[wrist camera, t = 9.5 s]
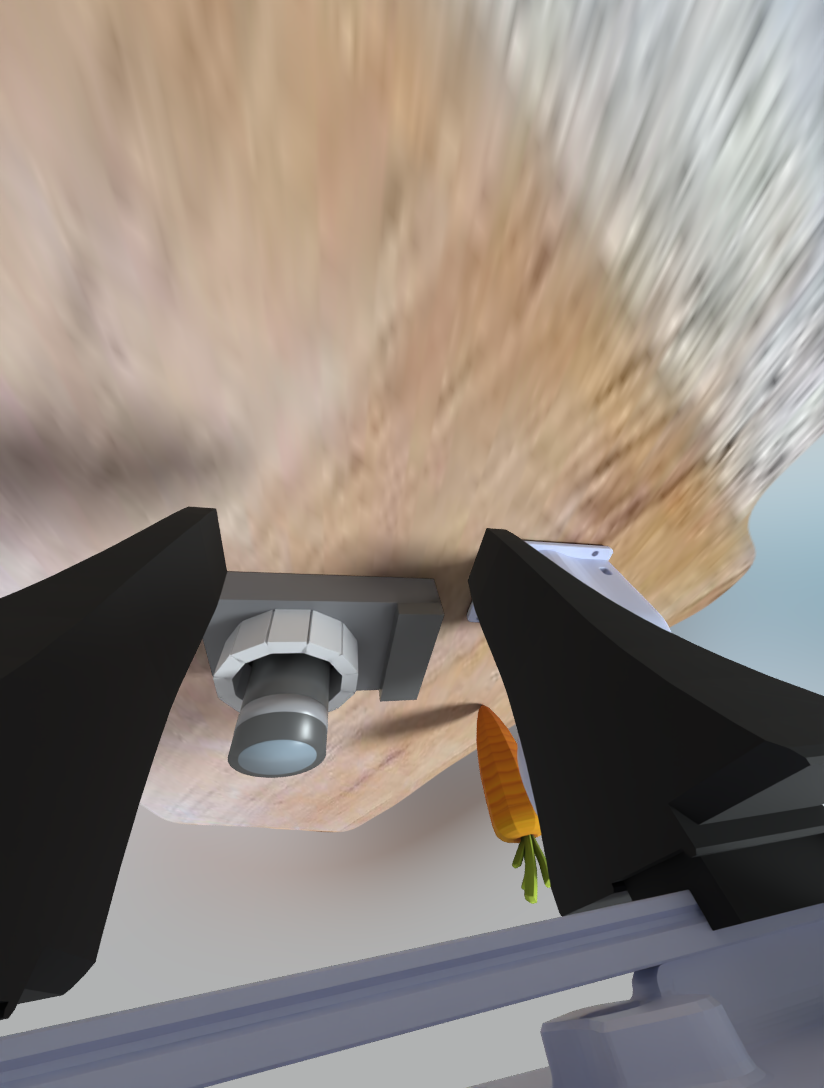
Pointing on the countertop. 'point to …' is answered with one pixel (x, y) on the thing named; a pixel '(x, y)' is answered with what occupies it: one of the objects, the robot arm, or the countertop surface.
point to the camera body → (326, 630)
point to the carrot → (509, 798)
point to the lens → (282, 716)
